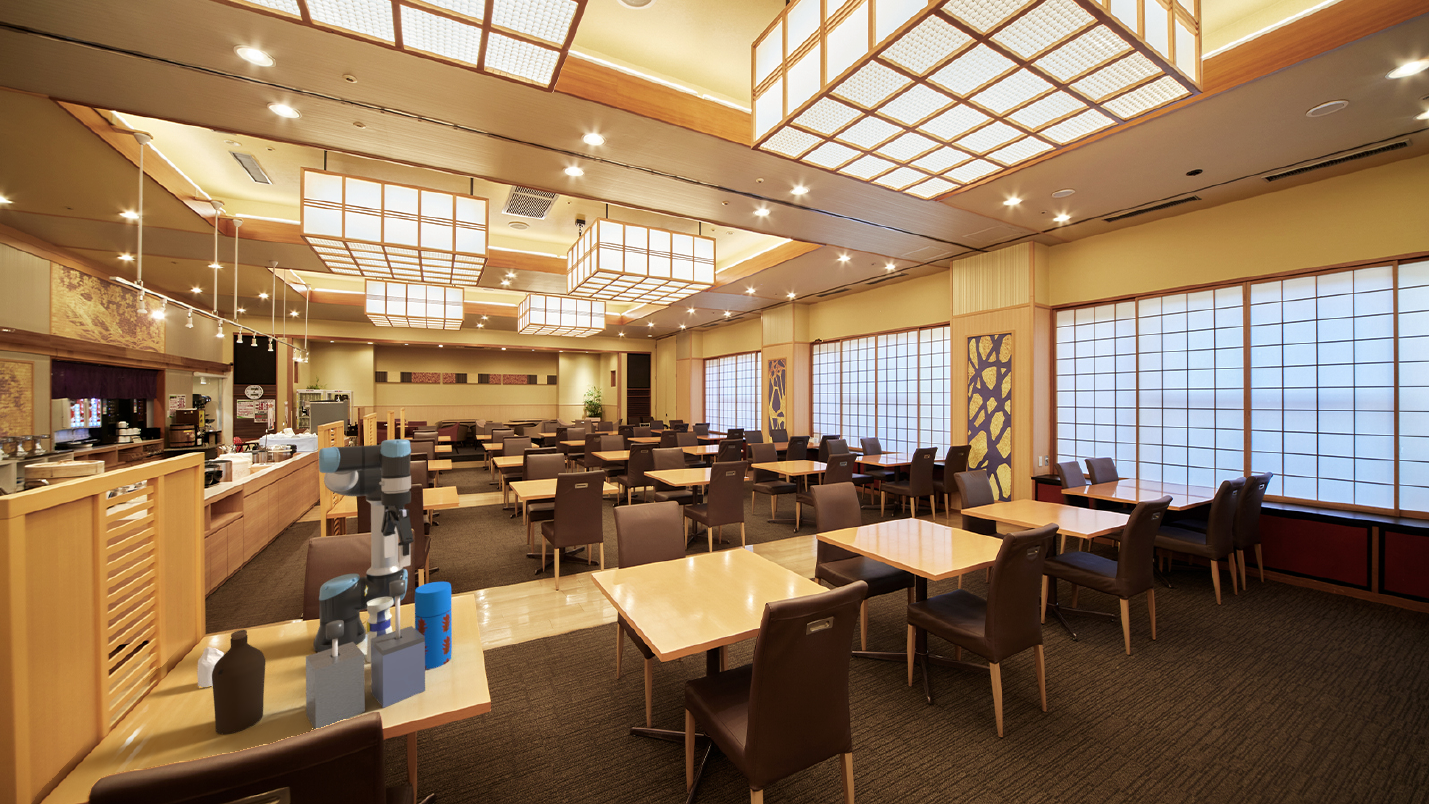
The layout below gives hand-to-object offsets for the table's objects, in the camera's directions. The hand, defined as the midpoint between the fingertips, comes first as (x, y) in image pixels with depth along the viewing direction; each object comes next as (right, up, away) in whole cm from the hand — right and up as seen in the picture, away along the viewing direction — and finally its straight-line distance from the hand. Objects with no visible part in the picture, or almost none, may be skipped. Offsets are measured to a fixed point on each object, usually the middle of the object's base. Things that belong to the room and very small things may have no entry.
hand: (396, 561), depth 150 cm
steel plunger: (-11, -34, -10) cm, 37 cm away
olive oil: (-34, -40, -14) cm, 54 cm away
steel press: (-13, -40, -8) cm, 43 cm away
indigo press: (-1, -40, +2) cm, 40 cm away
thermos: (+1, -40, +18) cm, 44 cm away
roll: (-61, -40, +5) cm, 73 cm away
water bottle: (-19, -40, +21) cm, 49 cm away
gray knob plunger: (0, -26, 0) cm, 26 cm away
